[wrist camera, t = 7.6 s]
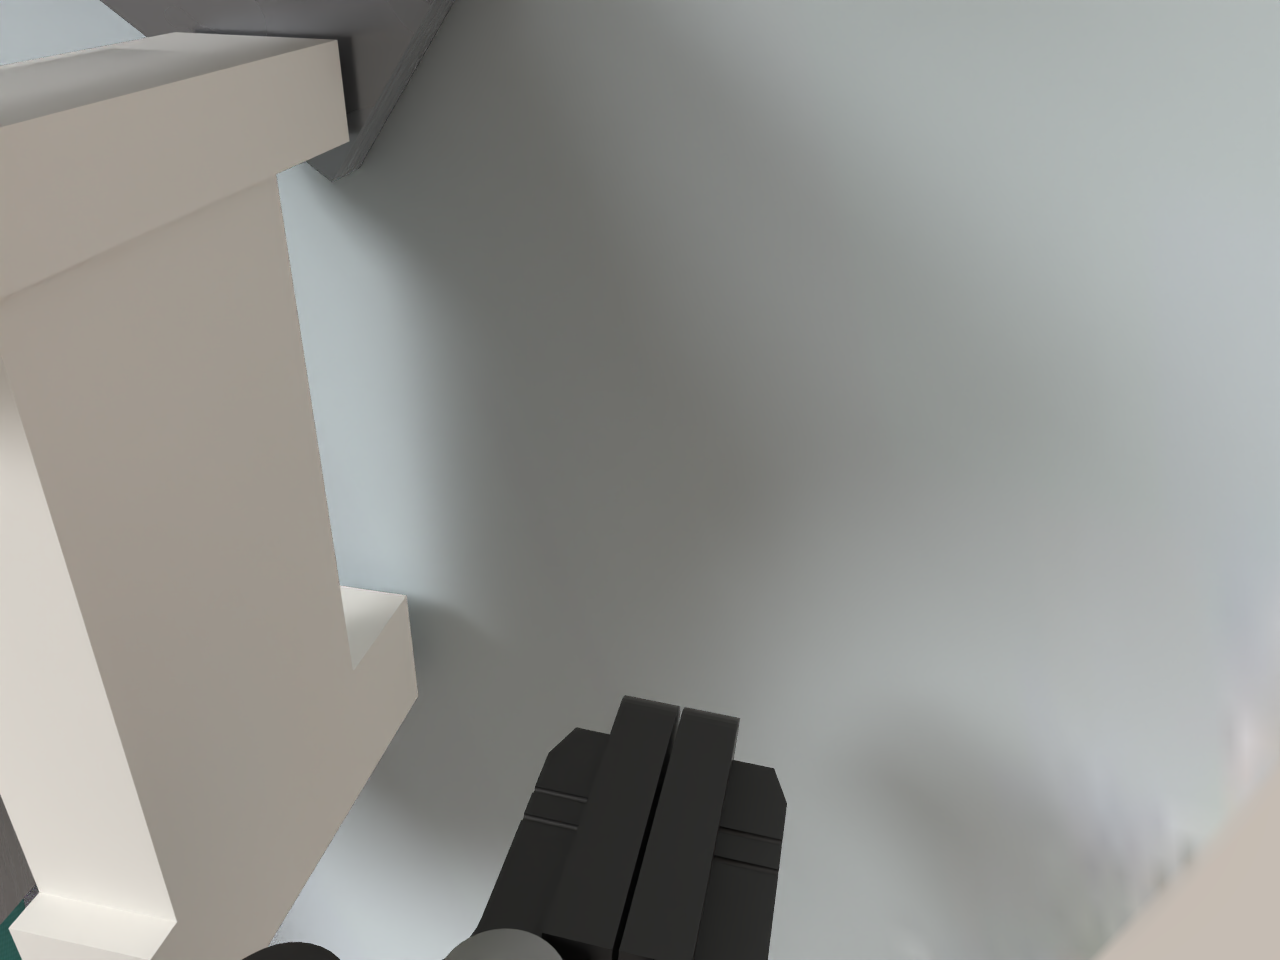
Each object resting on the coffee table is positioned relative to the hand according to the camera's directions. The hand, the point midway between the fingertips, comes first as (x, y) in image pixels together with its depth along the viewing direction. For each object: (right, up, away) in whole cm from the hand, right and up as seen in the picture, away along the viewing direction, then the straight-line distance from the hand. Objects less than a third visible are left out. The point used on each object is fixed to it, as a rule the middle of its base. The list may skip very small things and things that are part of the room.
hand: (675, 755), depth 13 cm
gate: (-5, +4, +3) cm, 7 cm away
